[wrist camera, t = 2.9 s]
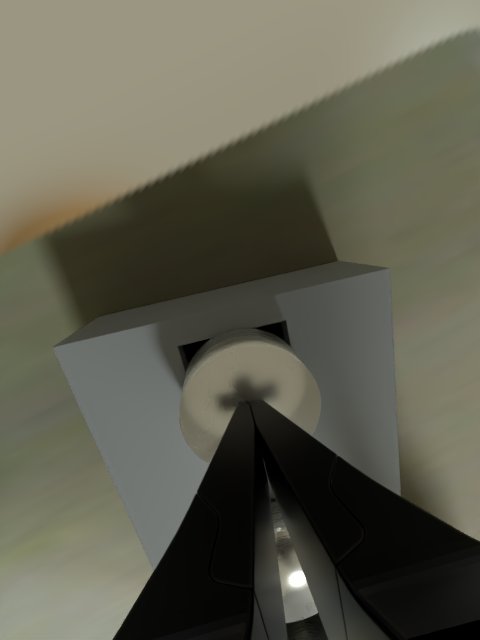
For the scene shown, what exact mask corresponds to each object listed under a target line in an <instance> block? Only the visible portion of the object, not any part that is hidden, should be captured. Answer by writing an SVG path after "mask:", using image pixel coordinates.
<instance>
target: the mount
mask: <svg viewBox="0 0 480 640" xmlns="http://www.w3.org/2000/svg"><path fill="white" fill-rule="evenodd" d="M277 322H281V325H282V331H283V337H284V341H285V342H286V343H287V344H288V345H289V346H290V347H291V348H292V350H293V351H294V352H295V353H296V355H297V356H298V357H299V359H300V360H301V361H302V362H303V364H304V365H305V366H306V367H307V369H308V370H309V371H310V373H311V374H312V375H313V377H314V379H315V381H316V383H317V385H318V388H319V392H320V396H321V413H320V417H319V421H318V424H317V427H316V429H315V431H314V433H313V435H312V436H313V437H314V438H315V439H317V440H318V441H319V442H321V443H322V444H324V445H325V446H326V447H328V448H329V449H330V450H332V451H333V452H334V453H336V454H337V456H340V457H341V458H343V459H344V460H346V461H347V462H348V463H350V464H351V465H352V466H354V467H355V468H357V469H358V470H360V471H361V472H363V473H364V474H365V475H367V476H368V477H370V478H372V479H373V480H375V481H376V482H378V483H380V484H381V485H383V486H384V487H386V488H388V489H389V490H391V491H393V492H394V493H396V494H398V495H399V496H401V486H400V466H399V445H398V425H397V404H396V384H395V364H394V343H393V323H392V302H391V282H390V268H386V267H378V266H371V265H364V264H357V263H350V262H343V261H336V262H332V263H327V264H323V265H319V266H314V267H310V268H306V269H302V270H297V271H293V272H289V273H284V274H280V275H276V276H271V277H267V278H263V279H258V280H254V281H250V282H245V283H241V284H237V285H233V286H228V287H224V288H220V289H215V290H211V291H207V292H202V293H198V294H194V295H189V296H185V297H181V298H176V299H172V300H168V301H164V302H159V303H155V304H151V305H146V306H142V307H138V308H133V309H129V310H125V311H120V312H116V313H112V314H107V315H103V316H99V317H97V318H96V319H94V320H93V321H91V322H90V323H88V324H87V325H85V326H84V327H82V328H81V329H79V330H78V331H76V332H75V333H73V334H72V335H70V336H69V337H67V338H66V339H64V340H63V341H61V342H60V343H58V344H57V345H55V346H54V347H53V349H54V352H55V354H56V356H57V358H58V360H59V363H60V365H61V367H62V369H63V372H64V374H65V376H66V378H67V380H68V383H69V385H70V387H71V389H72V391H73V394H74V396H75V398H76V400H77V402H78V405H79V407H80V409H81V411H82V413H83V416H84V418H85V420H86V422H87V425H88V427H89V429H90V431H91V433H92V436H93V438H94V440H95V442H96V444H97V447H98V449H99V451H100V453H101V455H102V458H103V460H104V462H105V464H106V466H107V469H108V471H109V473H110V475H111V478H112V480H113V482H114V484H115V486H116V489H117V491H118V493H119V495H120V497H121V500H122V502H123V504H124V506H125V508H126V511H127V513H128V515H129V517H130V519H131V522H132V524H133V526H134V528H135V530H136V533H137V535H138V537H139V539H140V542H141V544H142V546H143V548H144V550H145V553H146V555H147V557H148V559H149V561H150V564H151V566H152V568H153V570H155V568H156V567H157V565H158V563H159V562H160V560H161V558H162V557H163V555H164V553H165V551H166V550H167V548H168V546H169V544H170V543H171V541H172V539H173V537H174V536H175V534H176V532H177V530H178V528H179V526H180V524H181V522H182V520H183V518H184V517H185V515H186V513H187V511H188V509H189V507H190V504H191V502H192V500H193V498H194V496H195V494H197V490H198V488H199V485H200V483H201V481H202V479H203V477H204V475H205V473H206V470H207V468H208V466H209V464H208V463H206V462H205V461H204V460H202V459H201V458H199V457H198V456H197V455H196V454H195V453H194V452H193V451H192V450H191V448H190V447H189V446H188V444H187V443H186V441H185V439H184V437H183V434H182V432H181V428H180V423H179V407H180V401H181V396H182V390H183V385H184V379H185V374H186V370H187V368H188V361H187V358H186V355H185V351H184V348H183V345H185V344H189V343H193V342H197V341H202V340H206V339H210V338H213V337H215V336H217V335H219V334H221V333H224V332H227V331H230V330H235V329H242V328H251V329H252V328H256V327H260V326H264V325H268V324H272V323H277ZM266 474H267V472H266ZM267 478H268V476H267ZM268 484H269V491H270V499H274V498H275V496H274V494H273V491H272V488H271V486H270V483H269V480H268ZM315 616H318V617H319V618H320V616H319V613H317V614H315ZM320 619H321V618H320ZM326 636H327V634H326ZM327 639H328V637H327Z"/></svg>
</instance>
